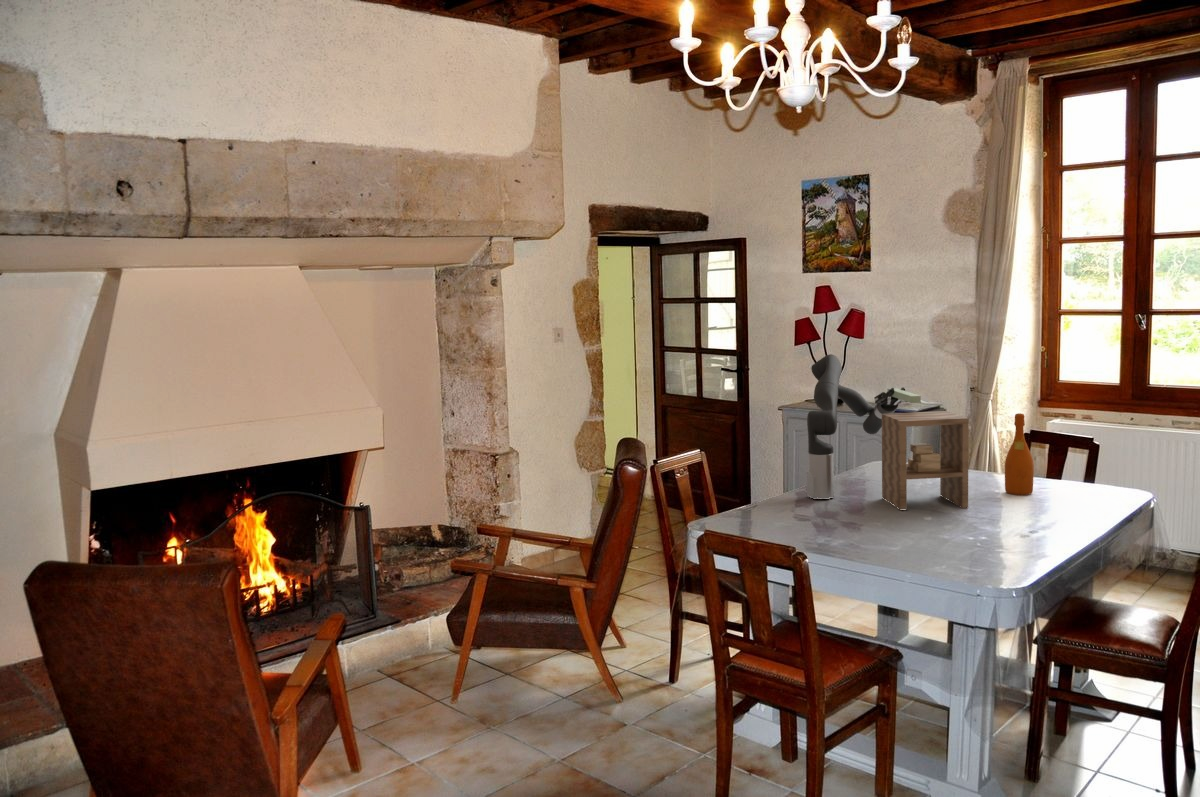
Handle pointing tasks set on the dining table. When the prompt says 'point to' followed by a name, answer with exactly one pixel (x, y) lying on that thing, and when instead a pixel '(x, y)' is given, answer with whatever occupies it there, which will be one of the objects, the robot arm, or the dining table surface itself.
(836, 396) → the robot arm
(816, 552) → the dining table surface
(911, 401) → the slat
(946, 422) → the rack
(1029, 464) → the wine bottle
